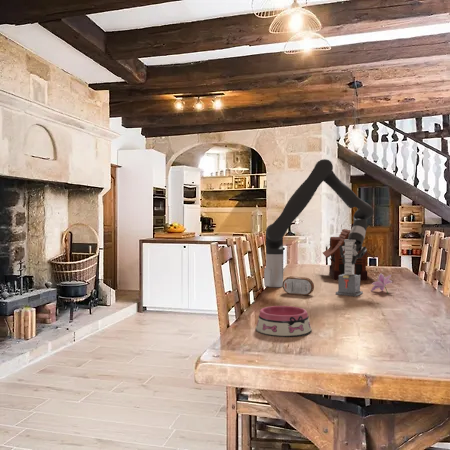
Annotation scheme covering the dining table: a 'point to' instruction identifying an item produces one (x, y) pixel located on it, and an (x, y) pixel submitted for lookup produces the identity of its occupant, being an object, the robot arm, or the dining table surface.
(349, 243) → the column
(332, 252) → the house
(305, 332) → the dog bowl
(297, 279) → the tin
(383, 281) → the lily
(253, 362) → the dining table surface
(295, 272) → the dining table surface
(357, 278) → the stand housing
